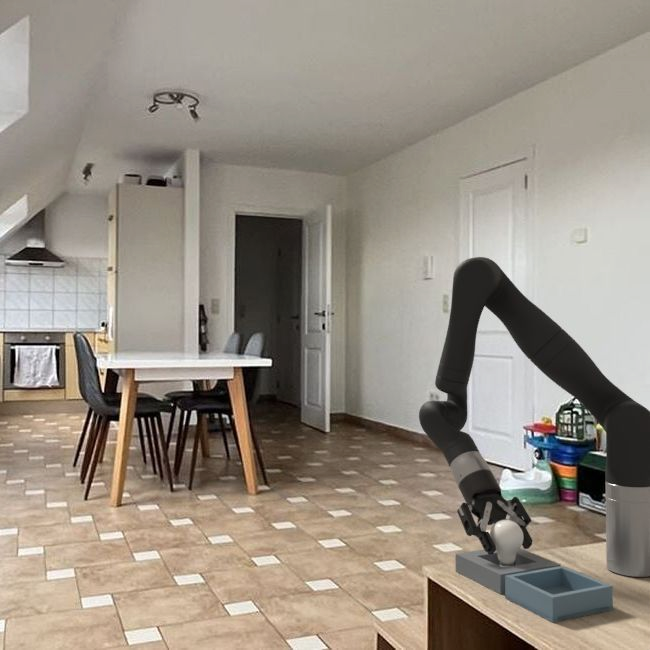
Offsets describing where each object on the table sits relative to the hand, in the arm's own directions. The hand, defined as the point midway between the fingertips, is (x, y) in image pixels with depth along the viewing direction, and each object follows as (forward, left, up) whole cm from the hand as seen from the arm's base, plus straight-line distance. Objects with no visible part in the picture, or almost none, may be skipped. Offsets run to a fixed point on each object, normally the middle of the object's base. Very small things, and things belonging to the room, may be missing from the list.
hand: (511, 549), depth 137 cm
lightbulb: (0, -1, -6) cm, 6 cm away
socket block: (0, -1, -6) cm, 6 cm away
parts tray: (+1, +14, -6) cm, 15 cm away
